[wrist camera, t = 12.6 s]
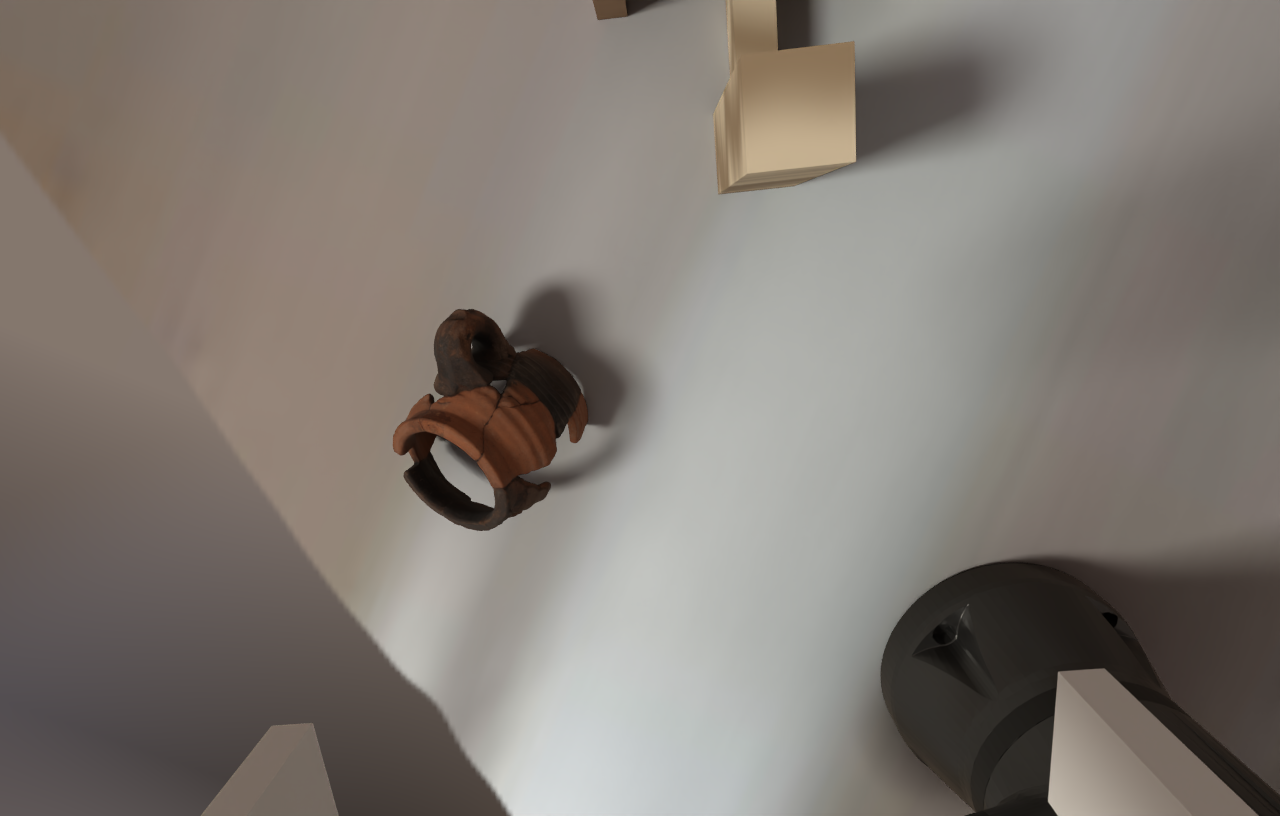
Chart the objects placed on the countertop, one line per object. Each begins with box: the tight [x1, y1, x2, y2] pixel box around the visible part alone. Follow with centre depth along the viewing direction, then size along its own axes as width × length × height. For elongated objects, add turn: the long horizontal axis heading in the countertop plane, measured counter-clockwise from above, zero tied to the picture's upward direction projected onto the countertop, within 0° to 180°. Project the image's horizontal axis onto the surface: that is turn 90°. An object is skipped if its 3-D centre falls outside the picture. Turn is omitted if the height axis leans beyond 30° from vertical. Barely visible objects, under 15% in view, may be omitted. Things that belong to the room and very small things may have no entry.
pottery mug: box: [393, 309, 588, 531], centre depth 35 cm, size 12×10×8 cm
